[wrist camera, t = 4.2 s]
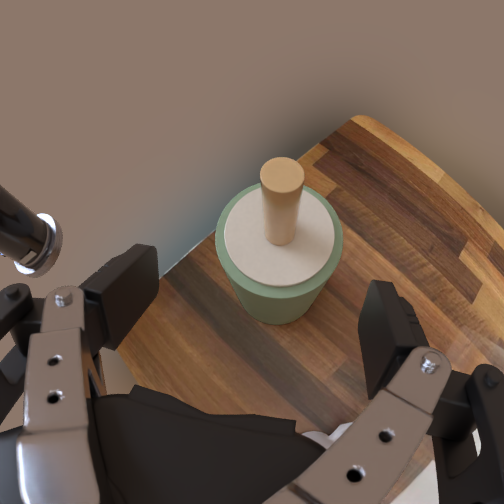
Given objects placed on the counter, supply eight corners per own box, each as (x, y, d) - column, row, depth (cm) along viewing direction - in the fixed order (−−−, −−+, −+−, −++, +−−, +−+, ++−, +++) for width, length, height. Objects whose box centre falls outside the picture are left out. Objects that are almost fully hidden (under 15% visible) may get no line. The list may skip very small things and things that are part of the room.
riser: (241, 329, 36) (219, 306, 22) (233, 253, 40) (212, 188, 25) (321, 319, 36) (355, 288, 21) (308, 244, 40) (328, 175, 25)
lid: (229, 294, 22) (207, 257, 14) (221, 194, 25) (203, 128, 17) (343, 279, 22) (377, 236, 14) (321, 183, 25) (336, 116, 17)
